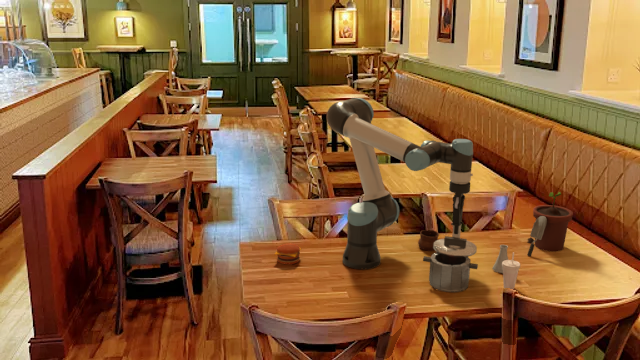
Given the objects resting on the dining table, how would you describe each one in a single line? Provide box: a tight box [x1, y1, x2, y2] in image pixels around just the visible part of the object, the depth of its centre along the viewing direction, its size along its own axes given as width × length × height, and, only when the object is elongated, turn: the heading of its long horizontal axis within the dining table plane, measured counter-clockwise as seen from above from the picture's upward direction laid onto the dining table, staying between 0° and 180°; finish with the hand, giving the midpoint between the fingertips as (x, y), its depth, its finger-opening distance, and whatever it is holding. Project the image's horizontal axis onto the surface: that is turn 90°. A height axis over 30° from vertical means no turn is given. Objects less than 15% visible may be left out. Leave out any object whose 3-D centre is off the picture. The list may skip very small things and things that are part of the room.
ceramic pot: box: [417, 229, 440, 252], centre depth 263 cm, size 18×18×7 cm
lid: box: [433, 236, 478, 258], centre depth 235 cm, size 16×16×4 cm
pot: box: [422, 252, 479, 293], centre depth 229 cm, size 20×14×10 cm
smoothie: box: [502, 251, 521, 290], centre depth 225 cm, size 6×6×14 cm
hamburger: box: [274, 242, 302, 265], centre depth 250 cm, size 9×10×7 cm
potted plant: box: [526, 191, 574, 257], centre depth 261 cm, size 18×22×25 cm
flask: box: [492, 244, 509, 274], centre depth 241 cm, size 7×7×10 cm
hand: (455, 240), depth 236 cm, fingers closed
